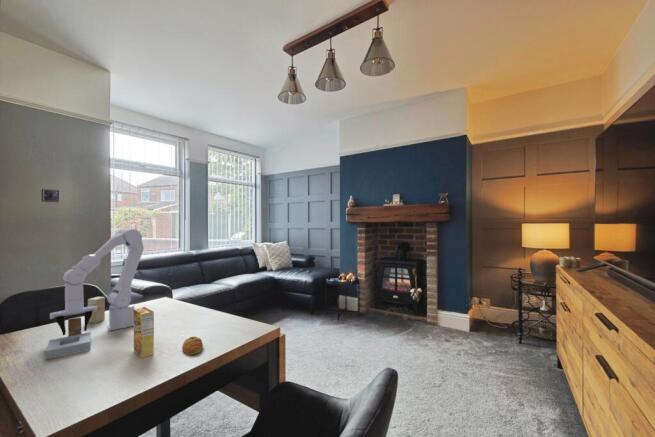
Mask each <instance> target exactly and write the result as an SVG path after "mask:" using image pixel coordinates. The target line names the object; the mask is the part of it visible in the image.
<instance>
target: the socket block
mask: <svg viewBox="0 0 655 437" xmlns="http://www.w3.org/2000/svg"><path fill="white" fill-rule="evenodd" d="M91 336H92V335H91V332H84V333H81V334H79V335H74V336H69V337H68V336H65V337H59V338H54V339H50V340H49V341H48V344H47V346H46V349H45V352H44V355H45V361H47V360H52V359H55V358H60V357H61V358H62V357H64V356H65V357H66V356H69V355H75V354H79V353H83V352H87V351H91V345H92V344H91V343H92V342H91V341H92V339H91V338H92V337H91Z"/></svg>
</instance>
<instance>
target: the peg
mask: <svg viewBox="0 0 655 437" xmlns="http://www.w3.org/2000/svg"><path fill="white" fill-rule="evenodd" d="M67 322H68V323H67V331H68V332H67V333H68V335H67V337H69V336H74V335H79V334H82V317H81V316H77V317H76V316H75V317H72V318H68V319H67Z"/></svg>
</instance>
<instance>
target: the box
mask: <svg viewBox="0 0 655 437" xmlns="http://www.w3.org/2000/svg"><path fill="white" fill-rule="evenodd" d="M105 298H106V297H105V296H95V297H91V298H88V299H87V307H91V306H97V311H96V312H94V311H93V312H92V316H91V317H90V320H89V322H88V324H96V323H99V322H102V321H105V319H106V316H105V314H106V311H105V309H106V308H105V306H106V305H105V304H106V302H105V301H106V299H105Z"/></svg>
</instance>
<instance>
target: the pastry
mask: <svg viewBox="0 0 655 437" xmlns="http://www.w3.org/2000/svg"><path fill="white" fill-rule="evenodd" d="M203 345H204V344H203V340H202V338H200V337H197V336H191V337H189V338H187V339H185V340H184V341H183V344H182V347H181V349H182V352H184V354H186V355H187V356H192V355H195V354H196V355H197V354H200V352H201V350H202V349H203Z"/></svg>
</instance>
